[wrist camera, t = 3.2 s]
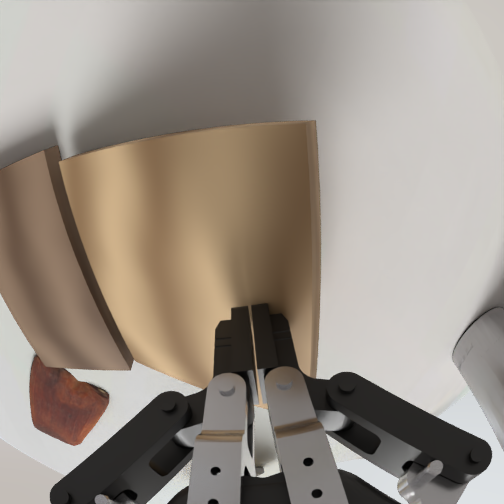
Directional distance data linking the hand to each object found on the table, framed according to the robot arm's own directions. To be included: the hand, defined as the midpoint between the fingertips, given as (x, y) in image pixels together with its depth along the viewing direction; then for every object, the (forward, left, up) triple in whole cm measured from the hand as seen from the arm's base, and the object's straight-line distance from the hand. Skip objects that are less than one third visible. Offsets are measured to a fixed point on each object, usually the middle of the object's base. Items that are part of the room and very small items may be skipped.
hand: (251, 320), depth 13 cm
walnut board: (+16, 0, -7) cm, 17 cm away
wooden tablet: (+29, +22, -8) cm, 37 cm away
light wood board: (+3, 0, -4) cm, 5 cm away
